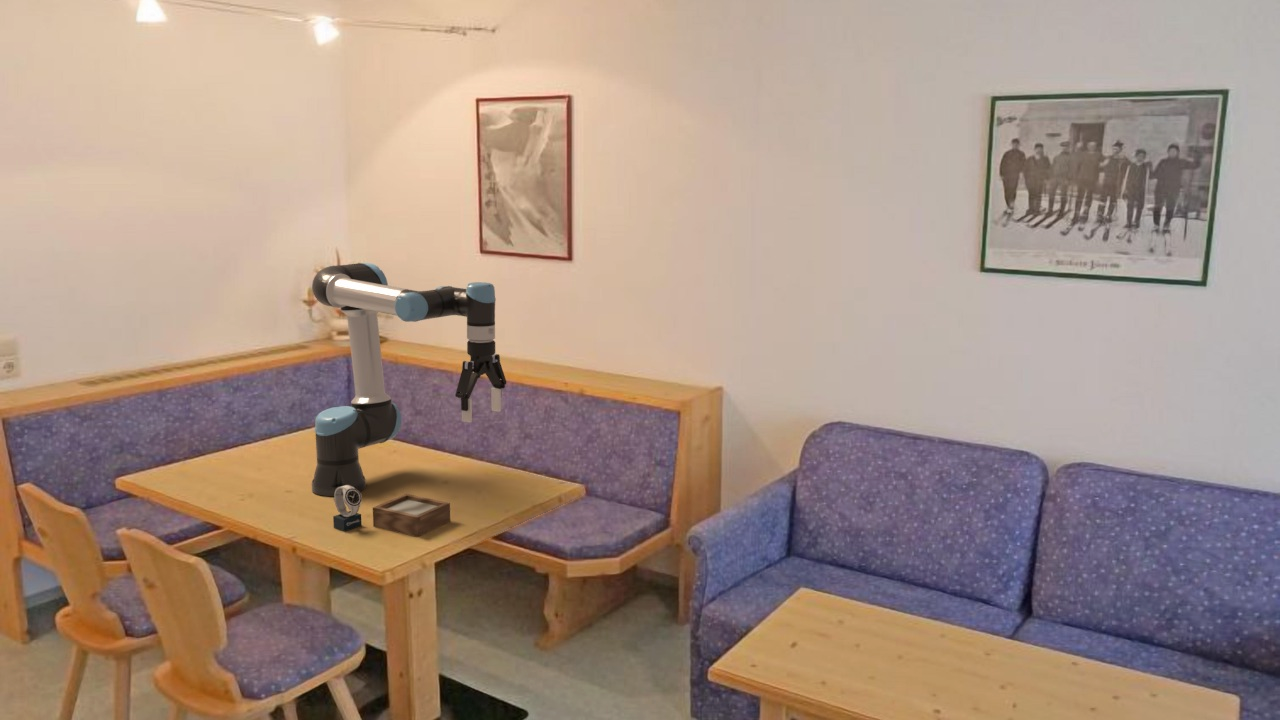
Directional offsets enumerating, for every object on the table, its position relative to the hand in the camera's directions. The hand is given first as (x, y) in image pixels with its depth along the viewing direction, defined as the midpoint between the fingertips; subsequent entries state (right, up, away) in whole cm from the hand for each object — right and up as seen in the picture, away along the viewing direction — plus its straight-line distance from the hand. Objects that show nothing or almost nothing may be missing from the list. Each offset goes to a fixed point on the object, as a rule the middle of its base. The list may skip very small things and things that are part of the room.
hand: (481, 416), depth 273 cm
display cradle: (-17, -28, -9) cm, 34 cm away
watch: (-33, -28, -12) cm, 45 cm away
